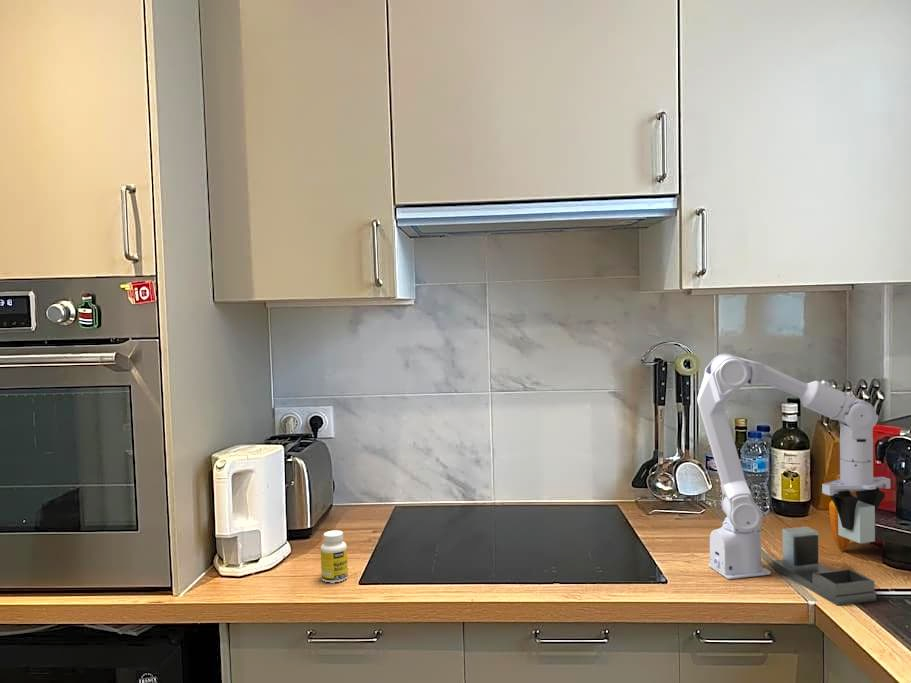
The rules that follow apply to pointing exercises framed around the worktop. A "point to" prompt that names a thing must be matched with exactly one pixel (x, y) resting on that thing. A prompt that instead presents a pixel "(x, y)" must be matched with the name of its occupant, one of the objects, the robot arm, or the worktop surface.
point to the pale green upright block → (860, 524)
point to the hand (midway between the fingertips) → (856, 527)
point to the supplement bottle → (334, 557)
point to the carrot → (839, 540)
